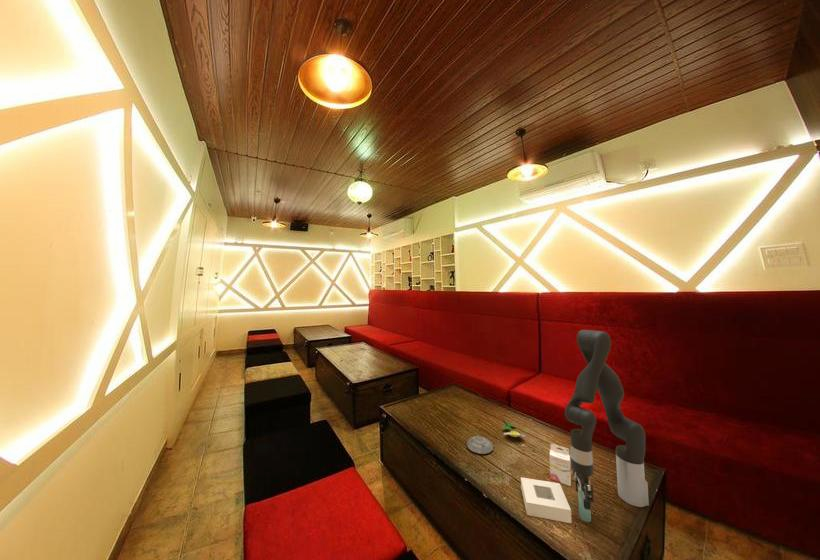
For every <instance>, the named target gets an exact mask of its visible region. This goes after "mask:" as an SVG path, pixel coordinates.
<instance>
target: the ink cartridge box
mask: <svg viewBox="0 0 820 560" xmlns="http://www.w3.org/2000/svg"><path fill="white" fill-rule="evenodd" d="M549 448H550V449H549V477H550V478H549V479H550V480H551V481H553V482H556V483H561V484H564V485H566V486H569V487H572V479H571V478H572V476H571V474H572V472H571V471H572V470H571V469H572V468H571V454H570V449H569V448H567V447H565V446H561V445H557V444H554V443H550V444H549Z"/></svg>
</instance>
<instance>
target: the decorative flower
mask: <svg viewBox="0 0 820 560" xmlns="http://www.w3.org/2000/svg"><path fill="white" fill-rule="evenodd" d="M503 421H504V422H505V424H506V425H507V426H505V425H504V426H502V429H504V430H510V431H508V432H503V435H505V436H506V435H509V436H511V437H513V438H518V437H521V438H522V439H523V438H524V437H525V438H526V437H527V436H526V435H524V434H523V433H522V434H521V433H519V432H518V431H516V430H515V431H514V430H513V429H512V427H514V428H516V427H517V426H516V425H515V424H512V423H508V422H507V420H506V419H505V418H503Z"/></svg>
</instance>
